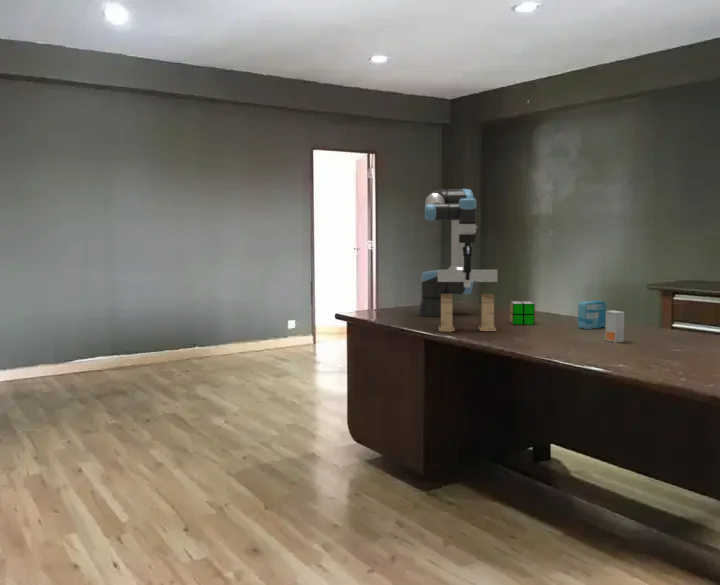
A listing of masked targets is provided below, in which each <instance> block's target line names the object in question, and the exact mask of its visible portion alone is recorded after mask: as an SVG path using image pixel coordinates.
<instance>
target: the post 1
mask: <svg viewBox="0 0 720 585" xmlns="http://www.w3.org/2000/svg"><path fill="white" fill-rule="evenodd" d="M453 296H454V295H452V294H441V316H440V325H438V328H437V329H438V332H452V331H456V330H455V329H456V328H455V326H454V325H453V303H454V302H453Z"/></svg>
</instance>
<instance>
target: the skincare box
mask: <svg viewBox="0 0 720 585" xmlns="http://www.w3.org/2000/svg"><path fill="white" fill-rule="evenodd" d="M624 332H625V312H624V311H620V310H619V311H618V310H613V309H612V310H606V316H605V337H604V340H605V341H609V342H612V341H613V342H612V343H623V342H624V338H625V337H624V334H625V333H624Z"/></svg>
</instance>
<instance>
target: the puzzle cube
mask: <svg viewBox="0 0 720 585" xmlns="http://www.w3.org/2000/svg"><path fill="white" fill-rule="evenodd" d="M509 303H510V304H509V306H510V307H509V309H510V311H509V322H510V323H511V324H512V325H513V326H516V325H517V326H521V325H522V326H534V325H535V307H536V306H535V305H536V304H534V303H533V302H532V301H529V300H528V301H526V300H525V301H517V300H516V301H514V300H513V301H512V300H511V301H510V302H509Z"/></svg>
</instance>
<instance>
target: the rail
mask: <svg viewBox="0 0 720 585" xmlns="http://www.w3.org/2000/svg"><path fill="white" fill-rule="evenodd" d="M437 270H438V282H464V273H463V271H465V270H448V269H437ZM470 273H471V282H473V283H498V273H499V272H498V269H471V272H470Z"/></svg>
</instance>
